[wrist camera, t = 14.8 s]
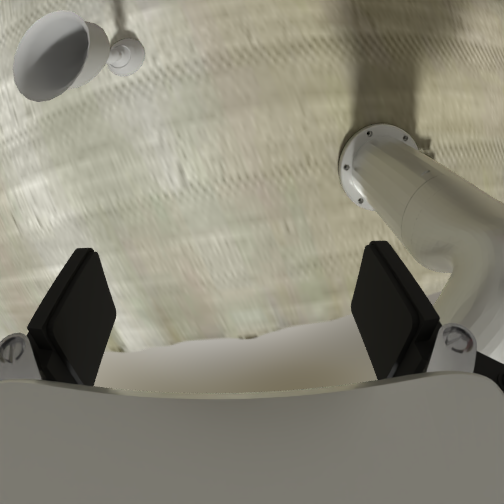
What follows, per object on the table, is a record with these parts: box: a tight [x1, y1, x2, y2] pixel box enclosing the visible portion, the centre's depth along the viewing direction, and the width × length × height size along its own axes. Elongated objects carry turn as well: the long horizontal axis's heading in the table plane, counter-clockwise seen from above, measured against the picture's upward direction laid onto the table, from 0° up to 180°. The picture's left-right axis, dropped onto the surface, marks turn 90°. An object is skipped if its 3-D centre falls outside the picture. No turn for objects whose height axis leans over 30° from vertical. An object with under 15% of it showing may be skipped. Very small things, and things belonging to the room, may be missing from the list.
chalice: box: [13, 10, 145, 102], centre depth 22 cm, size 7×7×18 cm
